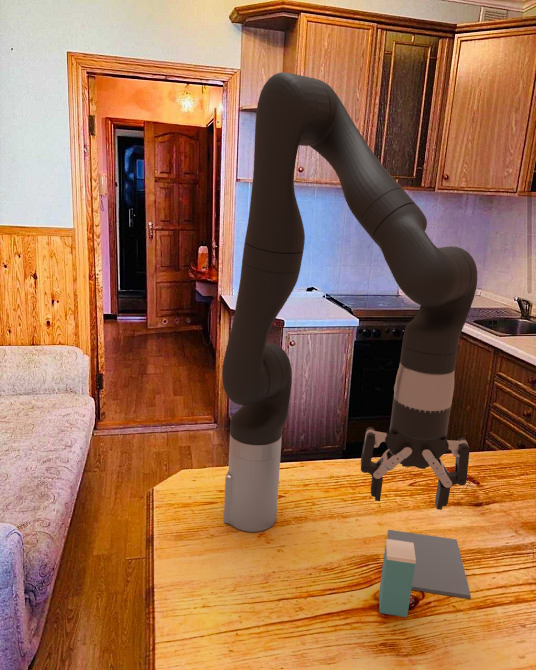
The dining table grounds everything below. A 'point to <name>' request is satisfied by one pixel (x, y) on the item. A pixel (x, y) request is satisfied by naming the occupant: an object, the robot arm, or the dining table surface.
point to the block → (397, 577)
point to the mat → (436, 564)
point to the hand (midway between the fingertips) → (407, 502)
